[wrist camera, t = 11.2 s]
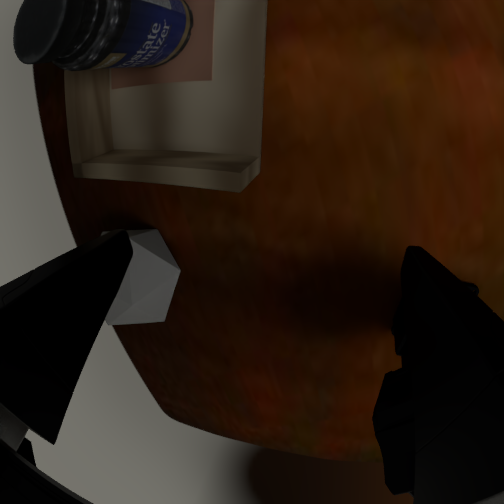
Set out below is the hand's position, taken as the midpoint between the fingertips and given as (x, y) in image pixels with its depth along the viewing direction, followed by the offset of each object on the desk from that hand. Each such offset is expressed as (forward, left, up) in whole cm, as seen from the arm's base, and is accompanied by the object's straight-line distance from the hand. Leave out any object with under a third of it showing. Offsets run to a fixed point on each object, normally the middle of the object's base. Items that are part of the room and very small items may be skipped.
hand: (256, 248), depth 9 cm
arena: (+10, -6, -13) cm, 17 cm away
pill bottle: (+11, -9, -12) cm, 19 cm away
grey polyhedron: (+13, +11, -13) cm, 21 cm away
